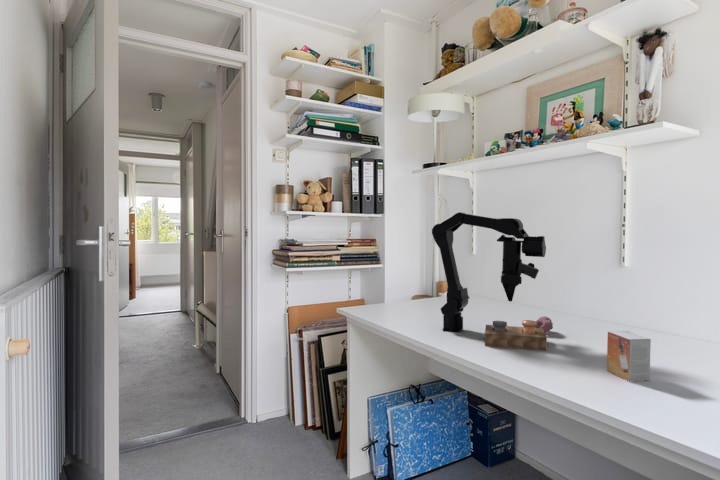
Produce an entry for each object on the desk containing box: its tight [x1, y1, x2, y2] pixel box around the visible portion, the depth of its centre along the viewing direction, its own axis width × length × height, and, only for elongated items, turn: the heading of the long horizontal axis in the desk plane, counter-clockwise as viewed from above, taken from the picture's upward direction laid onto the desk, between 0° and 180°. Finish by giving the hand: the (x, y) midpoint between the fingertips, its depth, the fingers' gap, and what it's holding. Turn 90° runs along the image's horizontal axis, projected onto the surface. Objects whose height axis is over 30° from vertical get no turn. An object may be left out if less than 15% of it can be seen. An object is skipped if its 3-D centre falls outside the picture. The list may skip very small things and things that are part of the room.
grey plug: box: [492, 320, 508, 332], centre depth 135 cm, size 4×4×6 cm
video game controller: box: [535, 315, 554, 335], centre depth 146 cm, size 10×5×7 cm, turn 169°
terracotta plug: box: [521, 319, 537, 334], centre depth 132 cm, size 4×4×6 cm
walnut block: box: [484, 324, 548, 351], centre depth 133 cm, size 18×12×4 cm, turn 71°
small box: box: [606, 330, 652, 383], centre depth 103 cm, size 8×6×10 cm
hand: (510, 301), depth 140 cm, fingers closed
